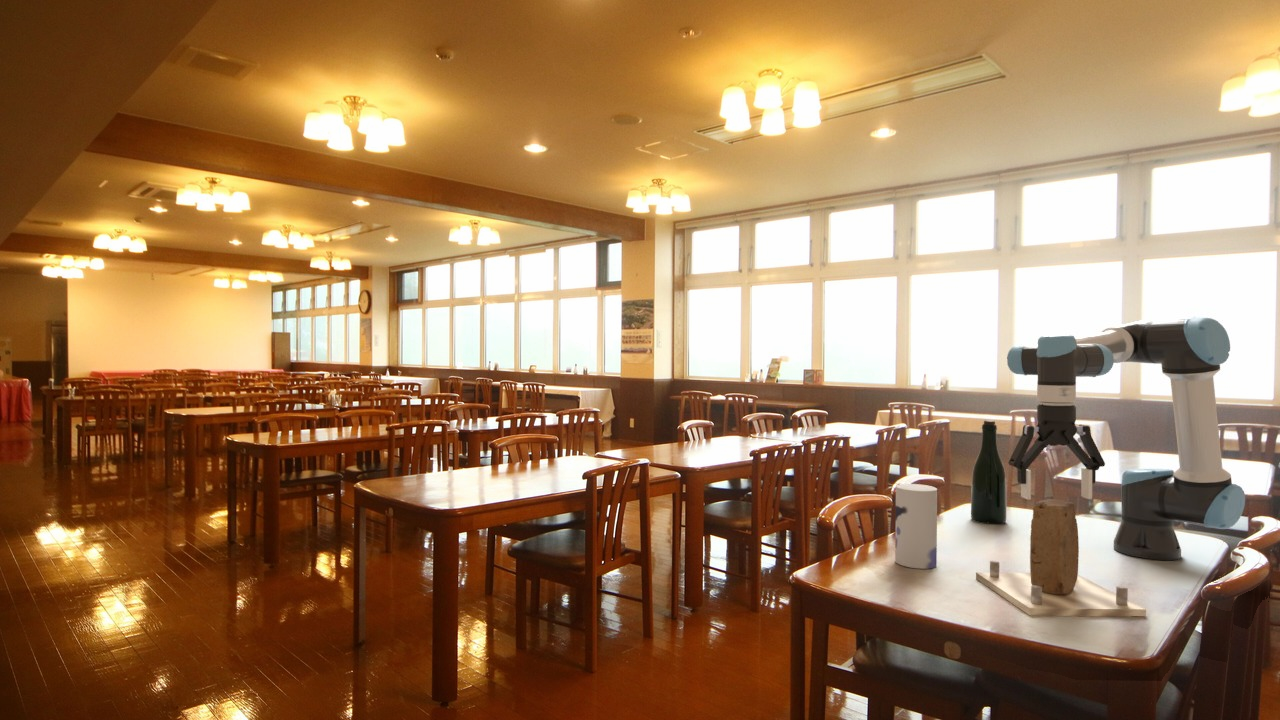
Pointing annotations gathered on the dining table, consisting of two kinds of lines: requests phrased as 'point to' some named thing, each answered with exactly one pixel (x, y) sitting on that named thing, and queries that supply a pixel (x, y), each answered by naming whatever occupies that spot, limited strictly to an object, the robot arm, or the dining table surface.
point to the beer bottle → (988, 480)
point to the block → (1054, 546)
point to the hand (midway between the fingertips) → (1056, 498)
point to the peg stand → (1059, 596)
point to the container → (916, 526)
